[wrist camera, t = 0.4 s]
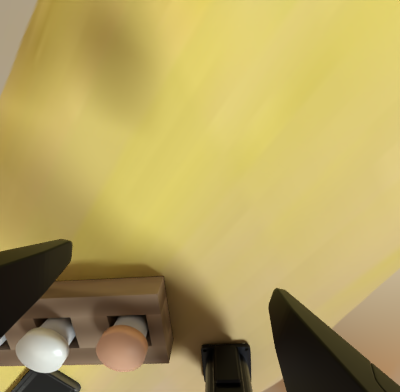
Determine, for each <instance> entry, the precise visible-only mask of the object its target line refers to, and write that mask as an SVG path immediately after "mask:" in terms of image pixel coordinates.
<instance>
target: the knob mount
mask: <svg viewBox="0 0 400 392" xmlns="http://www.w3.org/2000/svg"><path fill="white" fill-rule="evenodd" d="M124 315H146V318H147V323H148V328H149V329H148V332H147V335H146V340H147V343H148V350H147V353H146V357H145V360H144V362H143V364H157V363H169V360H170V354H171V349H172V344H173V335H172V329H171V322H170V315H169V309H168V302H167V296H166V289H165V283H164V276H160V277H139V278H117V279H96V280H74V281H54V283H53V284H52V285H51V286H50V287H49V289H48V290H47V291H46V292H45V293H44V294H43V296H42V297H41V298H40V299H39V300H38V301H37V302H36V303H35V304H34V305H33V306H32V307H31V308H30V309H29V310H28V311H27V312H26V313H25V314H24V315H23V316H22V317H21V318H20V319H19V320H18V321H17V322H16V323H15V324H14V325H13V326H12V327H11V328H10V330H9V331H8V332H7V333H6V334H5V337H6V339H7V340H6V341H5V342H4V343H3V344H2V345H1V346H0V366H25V365H23V364H22V363H21V361H20V360H19V359H18V357H17V355H16V345H17V343H18V342H19V340H20V339H21V338H22V337H23V336H24V335H25V334H26V333H27V332H28V331H30V330H31V329H34V328H39V327H40V326H41V325H42V324H43V323H44V322H45V321H46V320H47V319H48V318H65V317H70V318H71V321H72V325H73V328H74V331H75V335H76V336H75V337H74V339H73V340H72V342H71V343H70V345H69V355H68V357H67V358H66V360H65V361H64V363H63V364H62V365H98V364H103V363H102V362H101V361H100V360H99V358H98V356H97V354H96V346H97V343H98V342H99V340H100V338H101V336H102V334H103V333H104V331H105V330H107V329H108V328H110V327H112V326H114V324H115V322H116V320H117V318H118V316H124Z"/></svg>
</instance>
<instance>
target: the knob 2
mask: <svg viewBox="0 0 400 392" xmlns="http://www.w3.org/2000/svg"><path fill="white" fill-rule="evenodd" d="M148 329H149V328H148V323H147V318H146V315H124V316H118V318H117V320H116V322H115V324H114V326H112V327H110V328H108V329H107V330H105V331H104V333H103V334H102V336H101V338H100V340H99V342H98V343H97V346H96V354H97V356H98V358H99V360H100V361H101V362H102V363H103V364H104V365H105V366H107V367H108V368H110V369H112V370H115V371H120V372H129V371H133V370H136V369H137V368H139V367H140V366H141V365H142V364H143V362H144V360H145V357H146V353H147V350H148V343H147V340H146V335H147V332H148Z"/></svg>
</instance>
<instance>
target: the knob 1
mask: <svg viewBox="0 0 400 392" xmlns="http://www.w3.org/2000/svg"><path fill="white" fill-rule="evenodd" d="M6 340H7V339H6V337H5V335H4V336H3V337H2V338H1V339H0V346H1V345H2V344H3V343H4V342H5V341H6Z"/></svg>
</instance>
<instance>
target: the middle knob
mask: <svg viewBox="0 0 400 392" xmlns="http://www.w3.org/2000/svg"><path fill="white" fill-rule="evenodd" d="M75 336H76V335H75V331H74V328H73V325H72V321H71V318H70V317H65V318H48V319H47V320H46V321H45V322H44V323H43V324H42V325H41V326H40V327H39V328H34V329H31V330H30V331H28V332H27V333H26V334H25V335H24V336H23V337H22V338H21V339H20V340H19V342H18V343H17V345H16V355H17V357H18V359H19V360H20V361H21V363H22V364H23V365H25V366H26V367H28V368H29V369H31V370H33V371H36V372H40V373H51V372H54V371H56V370H58V369H59V368H60V367H61V366H62V364H63V363H64V361H65V360H66V358H67V357H68V355H69V345H70V343H71V342H72V340H73V339H74V337H75Z"/></svg>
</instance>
